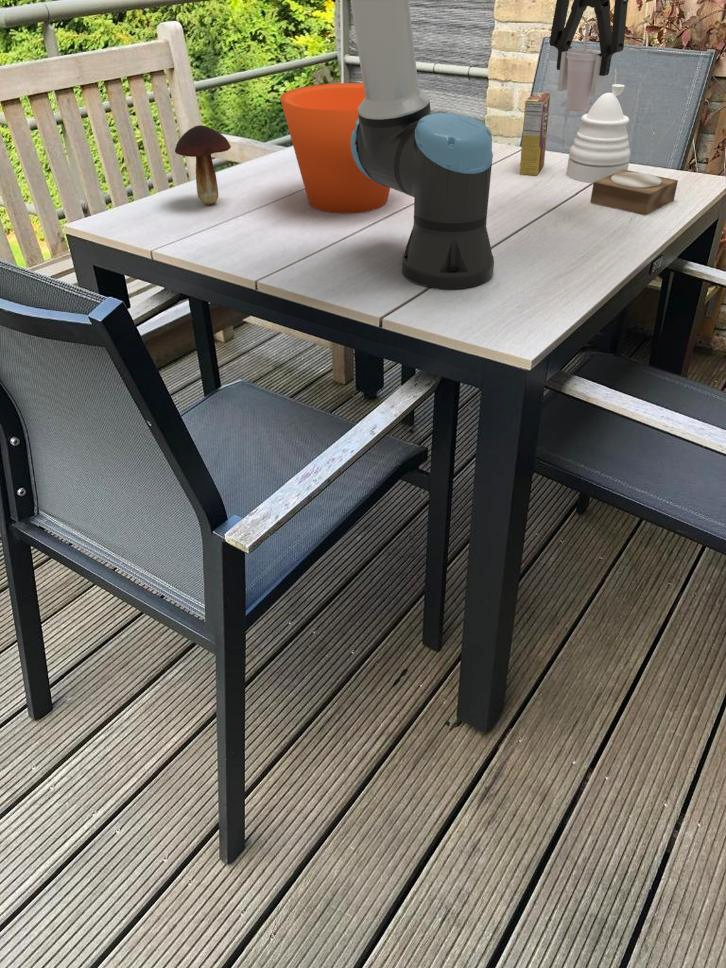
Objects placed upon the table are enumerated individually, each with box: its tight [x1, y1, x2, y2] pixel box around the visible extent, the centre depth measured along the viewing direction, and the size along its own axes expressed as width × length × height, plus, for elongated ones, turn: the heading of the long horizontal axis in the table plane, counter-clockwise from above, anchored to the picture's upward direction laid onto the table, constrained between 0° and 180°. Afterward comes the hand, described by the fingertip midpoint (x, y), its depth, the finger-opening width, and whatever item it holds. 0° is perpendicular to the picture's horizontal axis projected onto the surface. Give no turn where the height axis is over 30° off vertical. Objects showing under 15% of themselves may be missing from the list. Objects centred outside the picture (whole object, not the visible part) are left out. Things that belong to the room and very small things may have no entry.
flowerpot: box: [279, 82, 391, 214], centre depth 163 cm, size 25×25×20 cm
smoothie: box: [566, 23, 601, 113], centre depth 150 cm, size 6×6×14 cm
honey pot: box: [566, 83, 631, 184], centre depth 176 cm, size 13×13×18 cm
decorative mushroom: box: [174, 125, 232, 205], centre depth 164 cm, size 11×11×15 cm
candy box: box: [519, 92, 551, 177], centre depth 181 cm, size 9×4×15 cm, turn 160°
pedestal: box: [590, 169, 679, 216], centre depth 165 cm, size 12×12×4 cm
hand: (579, 92), depth 152 cm, fingers closed on smoothie, 6 cm apart
